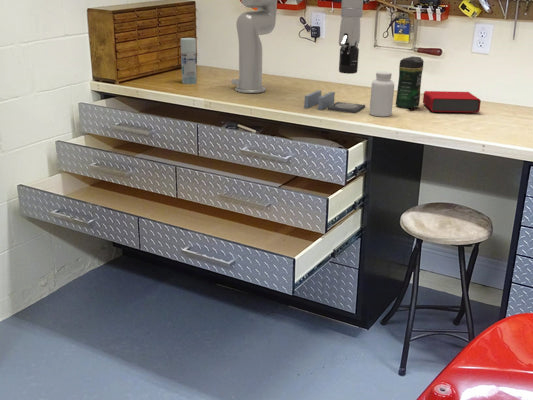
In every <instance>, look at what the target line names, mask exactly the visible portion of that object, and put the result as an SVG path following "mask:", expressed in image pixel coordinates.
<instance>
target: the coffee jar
mask: <svg viewBox="0 0 533 400" xmlns="http://www.w3.org/2000/svg"><path fill="white" fill-rule="evenodd" d="M398 67H399V68H398V69H399V71H398V72H399V73H398V83H397V89H396V90H397V91H396V99H395V105H396V107H399V108H402V109H407V108H409V109H412V108H413V109H414V108H416V107H418V106H419V105H420V99H421V86H422V85H421V84H422V76H423V75H422V74H423V71H424V59H422V57H421V56H409V57H404V58H402V59H401V60H400V61H399V66H398Z"/></svg>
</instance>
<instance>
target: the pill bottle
mask: <svg viewBox="0 0 533 400" xmlns="http://www.w3.org/2000/svg"><path fill="white" fill-rule="evenodd" d="M375 78H376V79H373V81H372V82H371V88H370V89H371V90H370V101H369V114H370V115H372V116H374V117H380V118H381V117H384V118H385V117H390V116H392V113H393V104H394V93H395V83H394V81H393V80H391V79H392V72H390V71H377V72H376V73H375Z"/></svg>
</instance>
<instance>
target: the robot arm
mask: <svg viewBox="0 0 533 400" xmlns="http://www.w3.org/2000/svg"><path fill="white" fill-rule="evenodd" d="M241 3H242V5H243V6H244V7H245V8H250V9H255V8H257V9H256V10H252V11H251V10H249V11H246V12H243V13H241V14H240V15H239V16H238V17H237V19H236V24H235V25H236V27H235V28H236V31H237V37H238V78H237V79H235V78H232V79H231V80H230V81H231V82H230V83H231V85H236V86H235V88H234V89H235V91H236V92H238V93H242V94H243V93H246V94H257V93H264V92H266V89H267V88H266V87H265V86H263V45H262V40H261V38H260V36H263V35H269V34H271V33H272V32H273V30H274V29H275V26H276V22H277V20H276V19H277V6H278V0H241ZM363 7H364V0H341V9H340V18H341V20H340V28H339V34H338V35H339V36H338V45H339V46H340V48H341V47H342V48H341V49H342V51H341V65H345V66H349V65H350V49H351V46H354V45H355V43H356V41H357V44H356V46H357V47H358V48H359V44H360V42H361V41H360V40H361V38H360V37H361V18H363ZM346 44H349V45H346ZM347 48H348V49H347Z"/></svg>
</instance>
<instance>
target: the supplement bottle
mask: <svg viewBox="0 0 533 400" xmlns="http://www.w3.org/2000/svg"><path fill="white" fill-rule="evenodd" d="M356 44H357V41H356V43H355V45H354V46H351V49H350V65H349V66H345V65H341V51H342V49H341V48H342V47H341V46H340V48H339V59H338V72H339V73H340V74H346V75H347V74H348V75H349V74H353V75H354V74H357V73H358V68H359V67H358V65H359V56H360V55H359V53H360V49H359V46H358V47H357V46H356ZM346 45H349V44H346ZM347 49H348V48H347Z"/></svg>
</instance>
